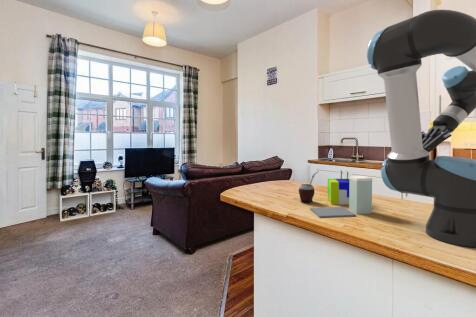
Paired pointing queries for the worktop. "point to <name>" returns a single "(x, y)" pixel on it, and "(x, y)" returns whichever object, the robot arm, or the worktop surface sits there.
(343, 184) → the puzzle toy
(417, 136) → the robot arm
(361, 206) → the sage block
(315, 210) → the rubber mat
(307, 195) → the mate gourd
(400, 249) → the worktop surface
